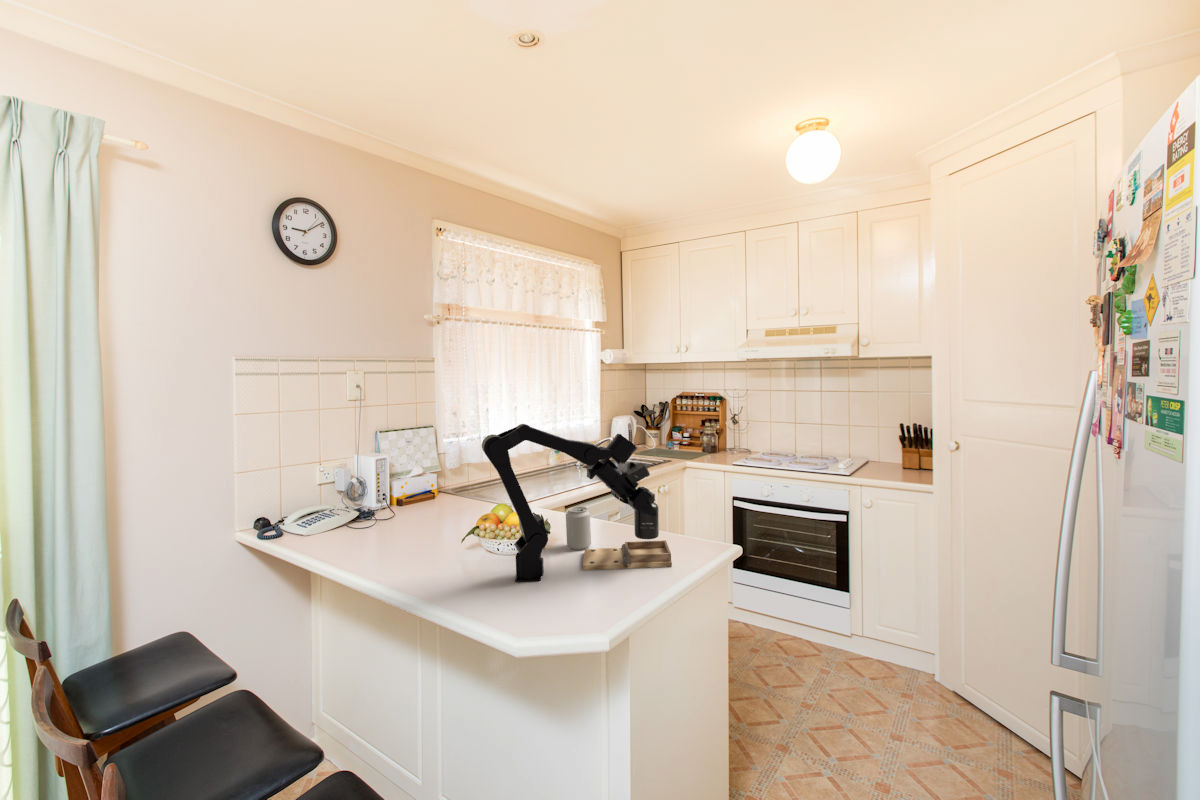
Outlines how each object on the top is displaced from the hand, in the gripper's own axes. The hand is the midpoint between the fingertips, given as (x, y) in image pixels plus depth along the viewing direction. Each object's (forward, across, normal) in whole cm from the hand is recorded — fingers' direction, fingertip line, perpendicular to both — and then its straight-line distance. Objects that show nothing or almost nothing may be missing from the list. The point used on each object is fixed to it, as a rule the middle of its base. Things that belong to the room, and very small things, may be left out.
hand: (650, 512), depth 149 cm
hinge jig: (+5, +2, +14) cm, 15 cm away
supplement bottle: (+4, 0, +6) cm, 7 cm away
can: (-2, +19, +21) cm, 28 cm away
